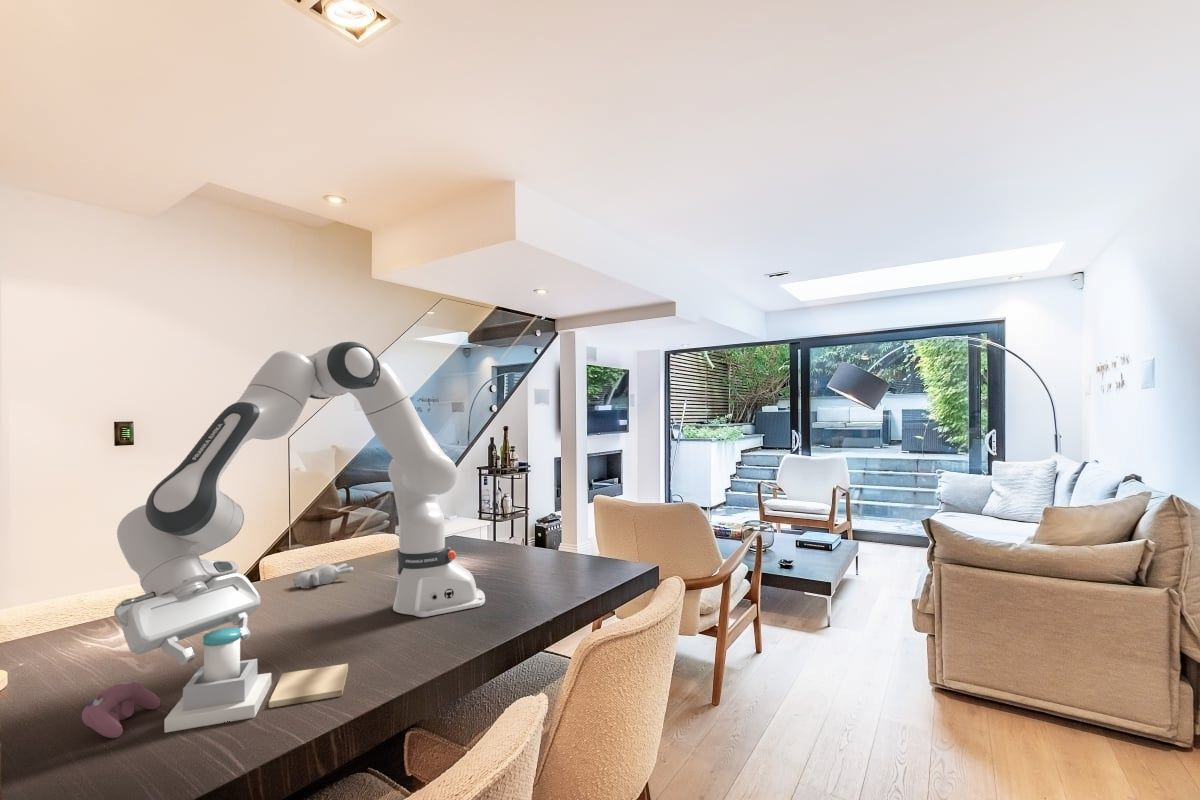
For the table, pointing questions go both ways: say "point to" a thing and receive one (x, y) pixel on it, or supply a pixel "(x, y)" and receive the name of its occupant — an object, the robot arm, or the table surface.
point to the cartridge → (222, 654)
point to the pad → (309, 685)
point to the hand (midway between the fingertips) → (218, 649)
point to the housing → (219, 699)
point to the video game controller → (117, 707)
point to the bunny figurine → (320, 575)
